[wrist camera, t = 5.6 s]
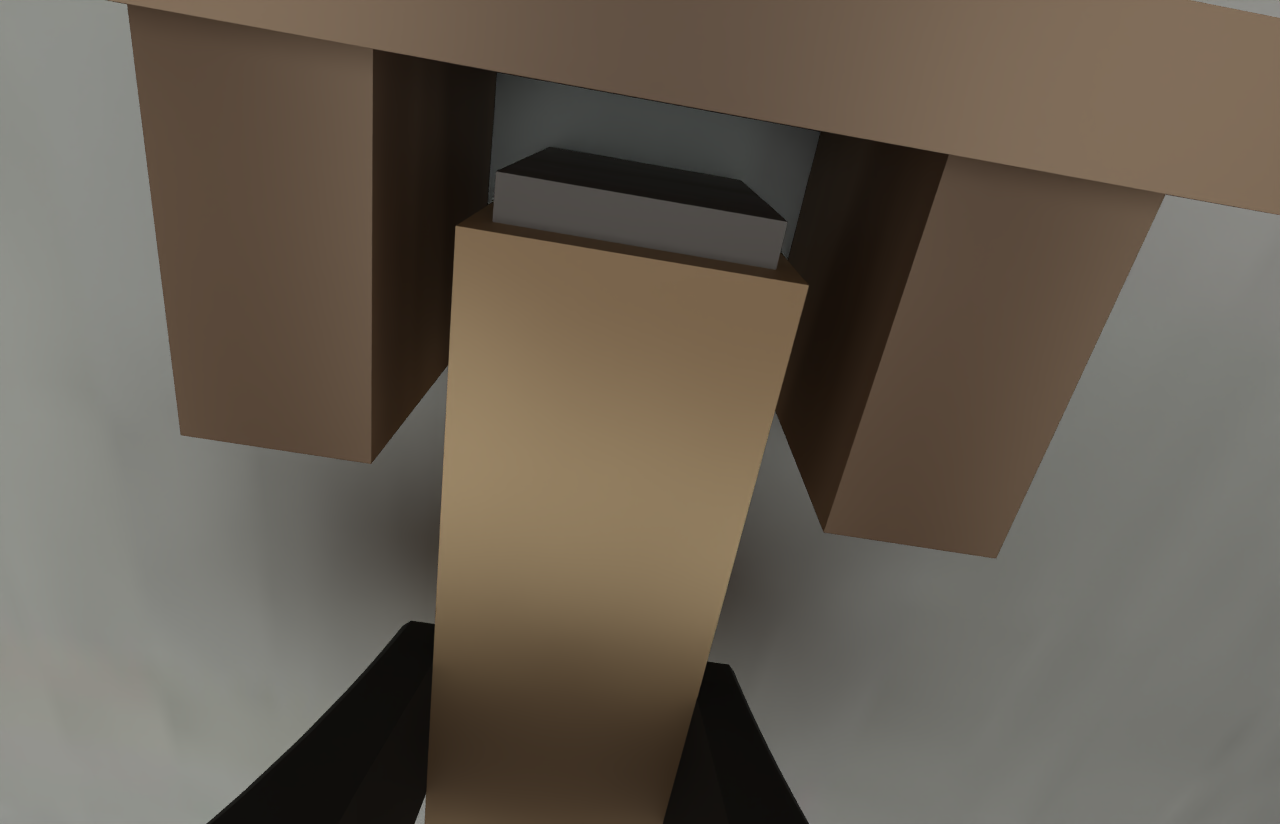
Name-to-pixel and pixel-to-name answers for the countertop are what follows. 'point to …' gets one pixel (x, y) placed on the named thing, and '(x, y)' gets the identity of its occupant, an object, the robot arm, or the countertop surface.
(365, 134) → the brown wooden stool
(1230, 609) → the countertop surface
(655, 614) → the rail
